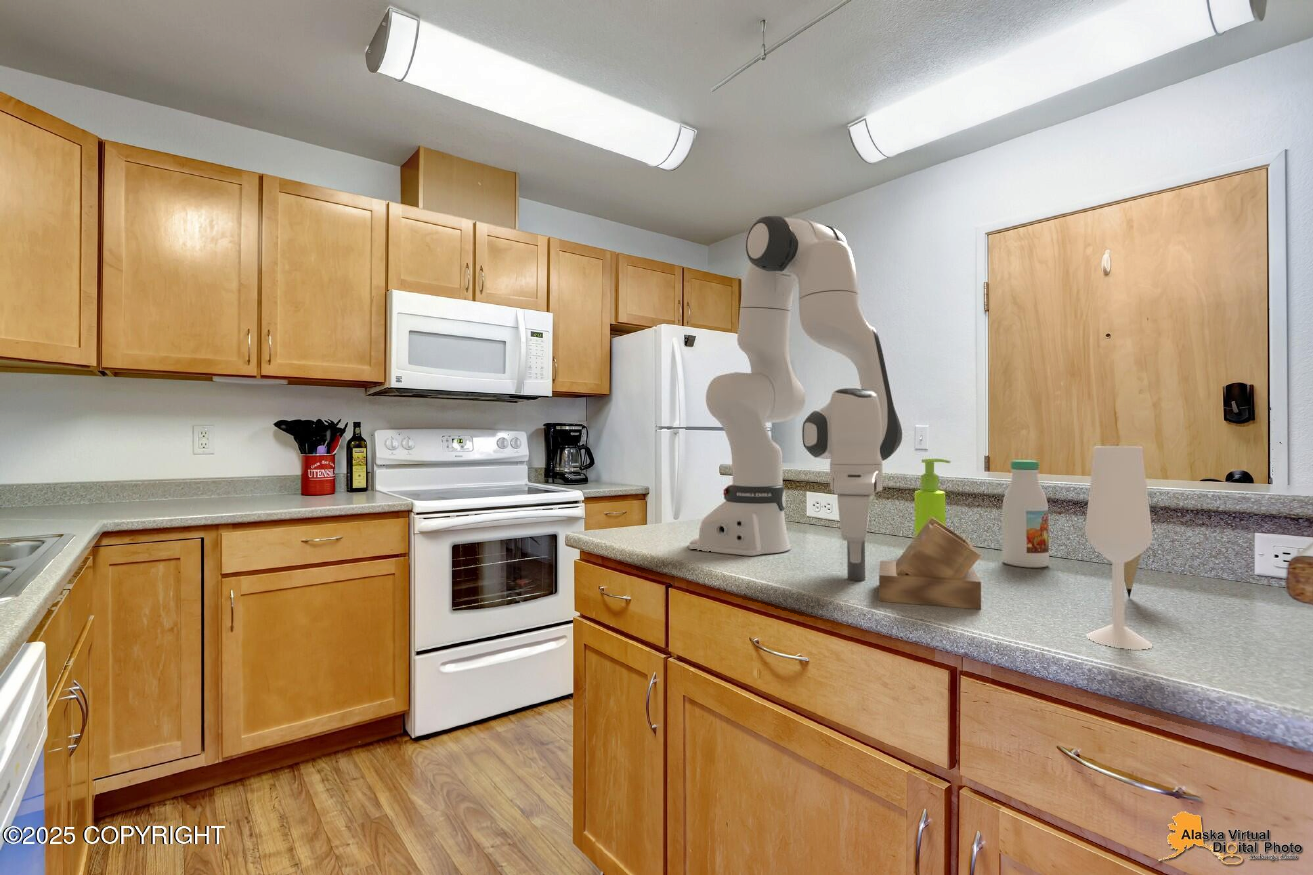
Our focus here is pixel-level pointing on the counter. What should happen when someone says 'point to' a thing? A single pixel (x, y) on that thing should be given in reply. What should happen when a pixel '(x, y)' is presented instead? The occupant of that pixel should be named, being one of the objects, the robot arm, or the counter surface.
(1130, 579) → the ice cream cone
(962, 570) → the holder
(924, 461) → the soap dispenser
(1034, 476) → the milk bottle
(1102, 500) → the champagne flute
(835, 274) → the robot arm
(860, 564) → the grey orange cylinder
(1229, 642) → the counter surface
